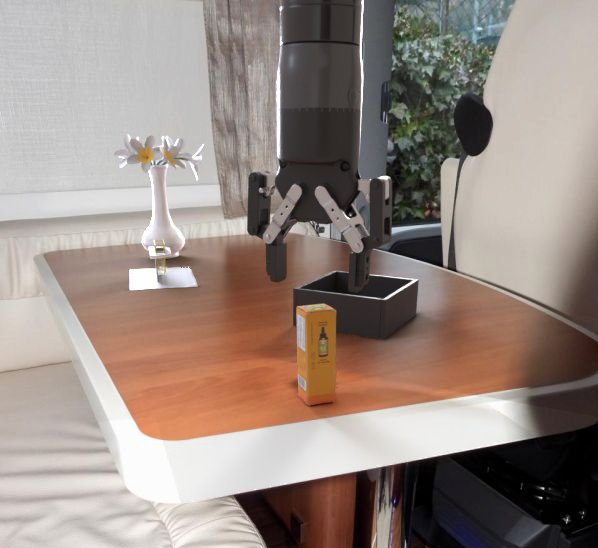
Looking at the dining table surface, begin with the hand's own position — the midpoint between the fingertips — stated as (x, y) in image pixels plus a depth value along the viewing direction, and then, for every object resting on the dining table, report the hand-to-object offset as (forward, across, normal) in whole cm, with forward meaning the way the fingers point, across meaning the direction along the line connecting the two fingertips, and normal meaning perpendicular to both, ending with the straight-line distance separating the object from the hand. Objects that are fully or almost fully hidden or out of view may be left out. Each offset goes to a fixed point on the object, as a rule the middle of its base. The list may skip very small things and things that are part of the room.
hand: (315, 285), depth 63 cm
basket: (+12, +6, -25) cm, 28 cm away
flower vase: (+13, +65, -57) cm, 87 cm away
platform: (+13, +52, -39) cm, 66 cm away
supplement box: (+12, 0, 0) cm, 12 cm away
